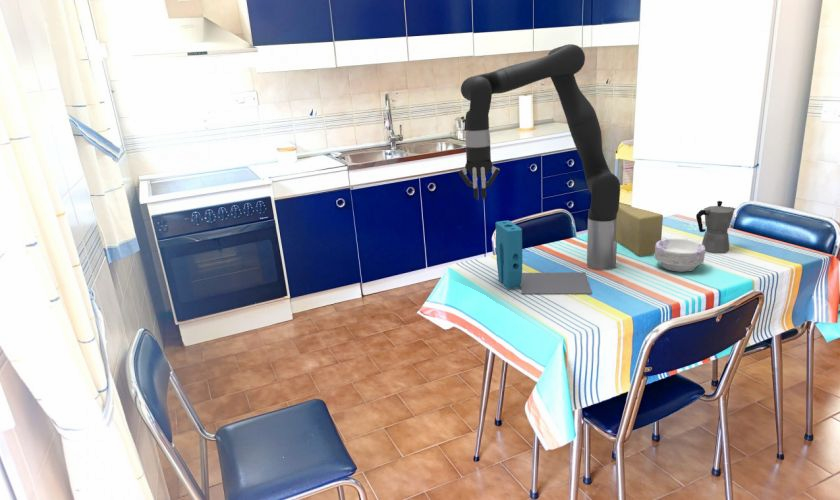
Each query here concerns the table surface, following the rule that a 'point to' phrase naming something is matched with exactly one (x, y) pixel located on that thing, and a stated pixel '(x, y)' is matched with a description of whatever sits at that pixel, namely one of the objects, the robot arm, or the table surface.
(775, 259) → the table surface
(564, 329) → the table surface
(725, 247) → the coffeepot
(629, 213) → the tan rectangular box
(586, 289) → the mat
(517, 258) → the block
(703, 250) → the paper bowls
